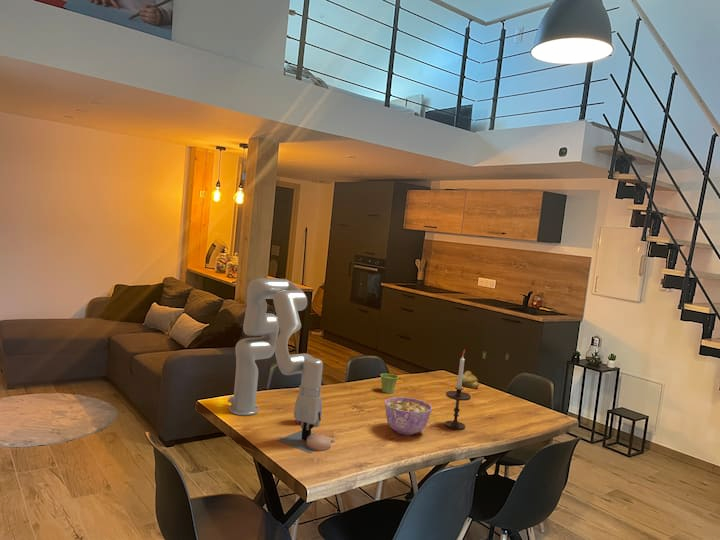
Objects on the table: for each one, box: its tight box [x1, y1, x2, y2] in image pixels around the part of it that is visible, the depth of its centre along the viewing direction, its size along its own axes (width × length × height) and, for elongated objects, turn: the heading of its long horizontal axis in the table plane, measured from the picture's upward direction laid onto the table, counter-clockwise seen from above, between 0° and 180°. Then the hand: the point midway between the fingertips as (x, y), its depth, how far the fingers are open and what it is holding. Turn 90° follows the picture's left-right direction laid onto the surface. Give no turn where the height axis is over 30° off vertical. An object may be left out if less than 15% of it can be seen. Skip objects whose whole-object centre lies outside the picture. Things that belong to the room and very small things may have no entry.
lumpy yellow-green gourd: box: [462, 370, 479, 389], centre depth 310 cm, size 13×10×8 cm
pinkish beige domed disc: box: [306, 434, 332, 452], centre depth 199 cm, size 9×9×3 cm
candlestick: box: [444, 349, 472, 431], centre depth 237 cm, size 11×11×35 cm
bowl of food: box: [384, 396, 433, 436], centre depth 225 cm, size 20×20×12 cm
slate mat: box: [275, 429, 336, 454], centre depth 202 cm, size 16×16×1 cm
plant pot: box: [379, 373, 399, 394], centre depth 282 cm, size 9×9×9 cm
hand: (305, 438), depth 202 cm, fingers closed
